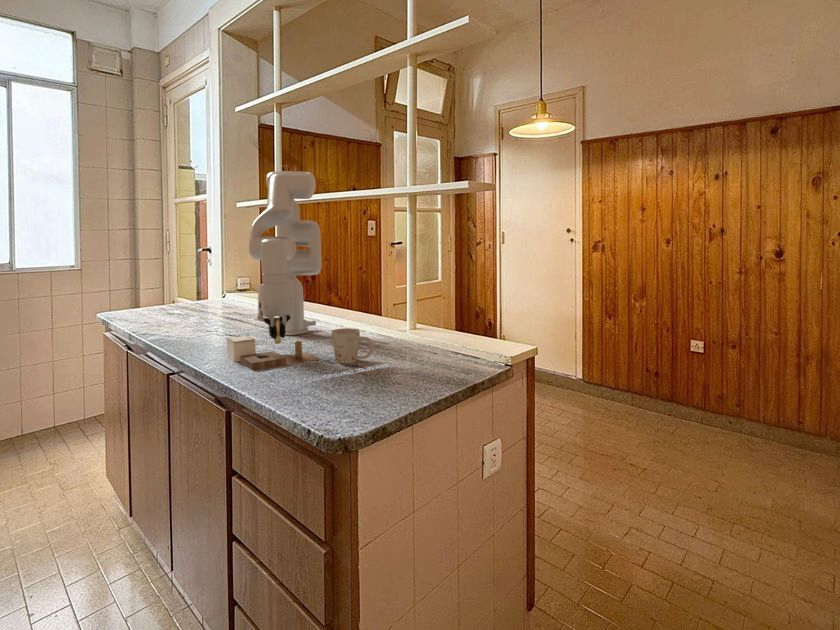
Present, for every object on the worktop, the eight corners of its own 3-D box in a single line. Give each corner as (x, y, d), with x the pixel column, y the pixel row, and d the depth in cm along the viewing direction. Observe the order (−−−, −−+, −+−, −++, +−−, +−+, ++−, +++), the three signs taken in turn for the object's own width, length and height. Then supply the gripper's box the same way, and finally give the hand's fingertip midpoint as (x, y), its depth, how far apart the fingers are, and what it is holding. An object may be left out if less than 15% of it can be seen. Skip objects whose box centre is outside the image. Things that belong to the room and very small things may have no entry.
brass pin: (279, 341, 164) (278, 317, 162) (282, 343, 162) (281, 318, 161) (273, 342, 163) (272, 317, 161) (276, 344, 161) (274, 319, 159)
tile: (307, 355, 164) (306, 337, 163) (321, 362, 156) (320, 342, 155) (276, 360, 158) (275, 341, 157) (290, 367, 150) (289, 347, 149)
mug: (333, 360, 158) (332, 328, 157) (374, 359, 159) (374, 328, 158) (330, 367, 150) (330, 334, 148) (374, 367, 151) (374, 333, 149)
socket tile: (273, 360, 157) (273, 351, 157) (286, 367, 149) (286, 357, 149) (240, 365, 151) (240, 355, 151) (252, 373, 143) (252, 363, 143)
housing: (248, 357, 161) (247, 335, 160) (256, 361, 156) (254, 339, 155) (227, 360, 157) (226, 338, 156) (234, 365, 152) (233, 341, 151)
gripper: (294, 276, 166) (296, 331, 170) (245, 279, 157) (248, 338, 160) (304, 278, 160) (306, 336, 164) (253, 283, 151) (257, 343, 155)
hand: (277, 337), depth 162 cm, fingers closed on brass pin, 2 cm apart
